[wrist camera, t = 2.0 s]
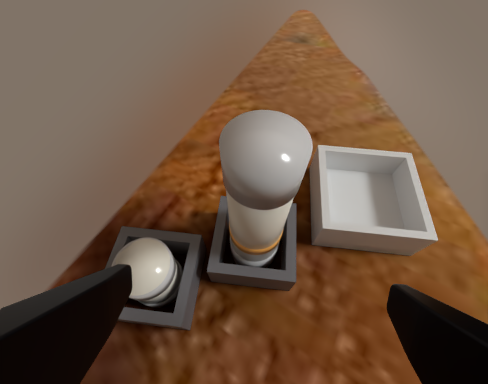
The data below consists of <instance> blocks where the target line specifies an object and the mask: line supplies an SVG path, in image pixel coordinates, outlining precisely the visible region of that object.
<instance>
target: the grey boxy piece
mask: <svg viewBox="0 0 488 384" xmlns="http://www.w3.org/2000/svg"><path fill="white" fill-rule="evenodd" d="M147 237H148V238H155V239H158V240H160V241H162V242H163V243H164V244H165V245H166V246H167V247H168V249H169V250H170V251H171V253H176V254H185V255H187V258H186V262H185V266H184V271H183V275H182V279H181V283H180V288H179V292H178V296H177V300H176V305H175V309H174V313H166V312H159V311H151V310H143V309H135V308H127V307H124V308H123V310H122V312H121V314H120V316H119V318H118V321H122V322H130V323H137V324H145V325H153V326H160V327H168V328H175V329H183V330H190V328H191V323H192V318H193V313H194V308H195V303H196V298H197V293H198V288H199V283H200V278H201V273H202V268H203V263H204V258H205V253H206V246H205V244H204V241H203V238H202V235H198V234H188V233H179V232H170V231H161V230H152V229H143V228H134V227H125V226H122V227H121V230H120V232H119V235H118V237H117V240H116V242H115V245H114V247H113V250H112V252H111V255H110V257H109V260H108V262H107V265H106V267H105V269H106V268H109V267H111V266H112V263H113V261H114V258H115V257H116V255H117V254H118V252H119V251H120V250H121V249H122V248H123V247H124V246H125V245H127V244H128V243H130V242H132V241H134V240H136V239H139V238H147Z"/></svg>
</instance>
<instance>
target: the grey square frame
mask: <svg viewBox="0 0 488 384" xmlns="http://www.w3.org/2000/svg"><path fill="white" fill-rule="evenodd" d="M228 229H229V213H228V203H227V197H226V196H221V199H220V204H219V209H218V215H217V220H216V225H215V231H214V236H213V241H212V246H211V252H210V257H209V262H208V268H207V273H208V276H209V278H210V280H211V282H219V283H227V284H235V285H244V286H252V287H260V288H269V289H277V290H285V291H289V290H290V289H291V288H292V287H293V285H294V284H295V283H296V204H295V203H292V205H291V207H290V210H289V213H288V216H287V219H286V222H285V225H284V228H283V233H282V247H281V270H277V269H269V268H260V267H251V266H243V265H234V264H225V263H223V261H224V254H225V248H226V242H227V235H228Z"/></svg>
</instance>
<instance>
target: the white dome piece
mask: <svg viewBox="0 0 488 384" xmlns="http://www.w3.org/2000/svg"><path fill="white" fill-rule="evenodd" d="M117 264H127V265H130V266H131V269H132V292H131V294H130V296H129V298H131V299H134V300H137V301H139V302H140V303H142V304H144V305H146V306H149V307H152V308H161V307H165V306H167V305H169V304H171V303H172V302H174V301H175V300H176V299H177V296H178V292H179V288H180V283H181V279H182V275H183V271H184V270H183V268H182V266H181V265H180V264H179V262H178V261H177V260H176V259H175V258H174V256H173V254H172V253H171V251H170V250H169V249H168V247H167V246H166V245H165V244H164V243H163V242H162V241H160V240H158V239H155V238H148V237H147V238H139V239H136V240H134V241H132V242H130V243H128V244H127V245H125V246H124V247H123V248H122V249H121V250H120V251H119V252H118V254H117V255H116V257H115V258H114V261H113V263H112V266H114V265H117ZM112 266H111V267H112Z"/></svg>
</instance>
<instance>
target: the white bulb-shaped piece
mask: <svg viewBox="0 0 488 384" xmlns="http://www.w3.org/2000/svg"><path fill="white" fill-rule="evenodd" d="M312 146H313V145H312V139H311V136H310V134H309V132H308V131H307V129H306V128H305V127H304V126H303V125H302V124H301V123H300V122H299V121H298V120H296V119H295V118H293V117H291V116H289V115H287V114H284V113H281V112H277V111H272V110H255V111H250V112H246V113H243V114H241V115H239V116H237V117H235V118H233V119H232V120H231V121H230V122H229V123H228V124H227V125H226V126H225V127H224V129H223V130H222V132H221V135H220V140H219V147H220V156H221V165H222V174H223V182H224V186H225V188H226V193H227V203H228V213H229V231H230V247H231V254H232V257H233V259H234V261H235V263H236V264H237V265H243V266H251V267H260V268H267V267H268V266H269V265H270V264H271V263H272V262H273V260H274V258H275V255H276V252H277V250H278V247H279V241H280V239H281V236H282V233H283V228H284V225H285V222H286V219H287V216H288V213H289V210H290V207H291V205H292V202H293V199H294V197H295V195H296V194H297V192H298V190H299V188H300V185H301V182H302V179H303V177H304V174H305V171H306V168H307V165H308V162H309V160H310V157H311V154H312Z"/></svg>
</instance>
